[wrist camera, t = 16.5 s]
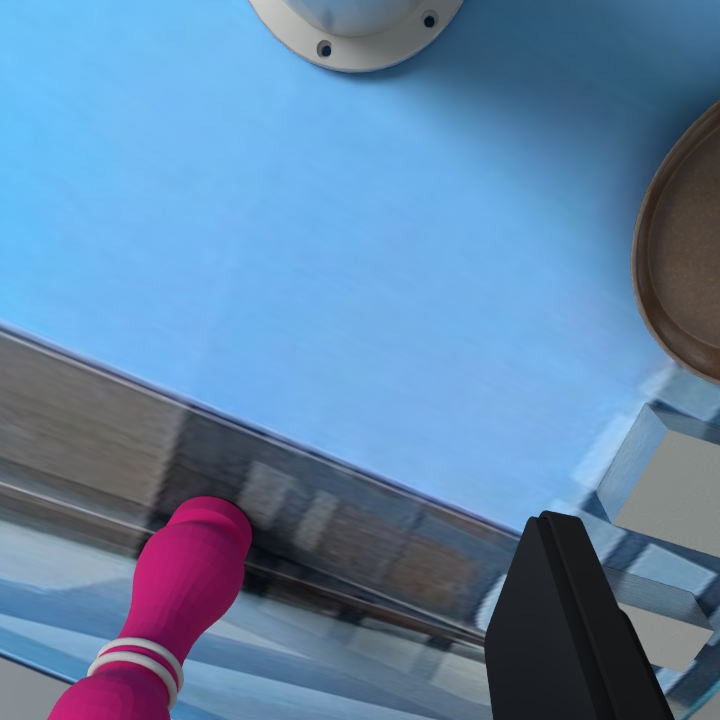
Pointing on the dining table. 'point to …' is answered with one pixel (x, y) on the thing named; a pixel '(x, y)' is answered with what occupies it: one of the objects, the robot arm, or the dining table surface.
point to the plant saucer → (683, 250)
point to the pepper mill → (165, 614)
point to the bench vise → (665, 524)
